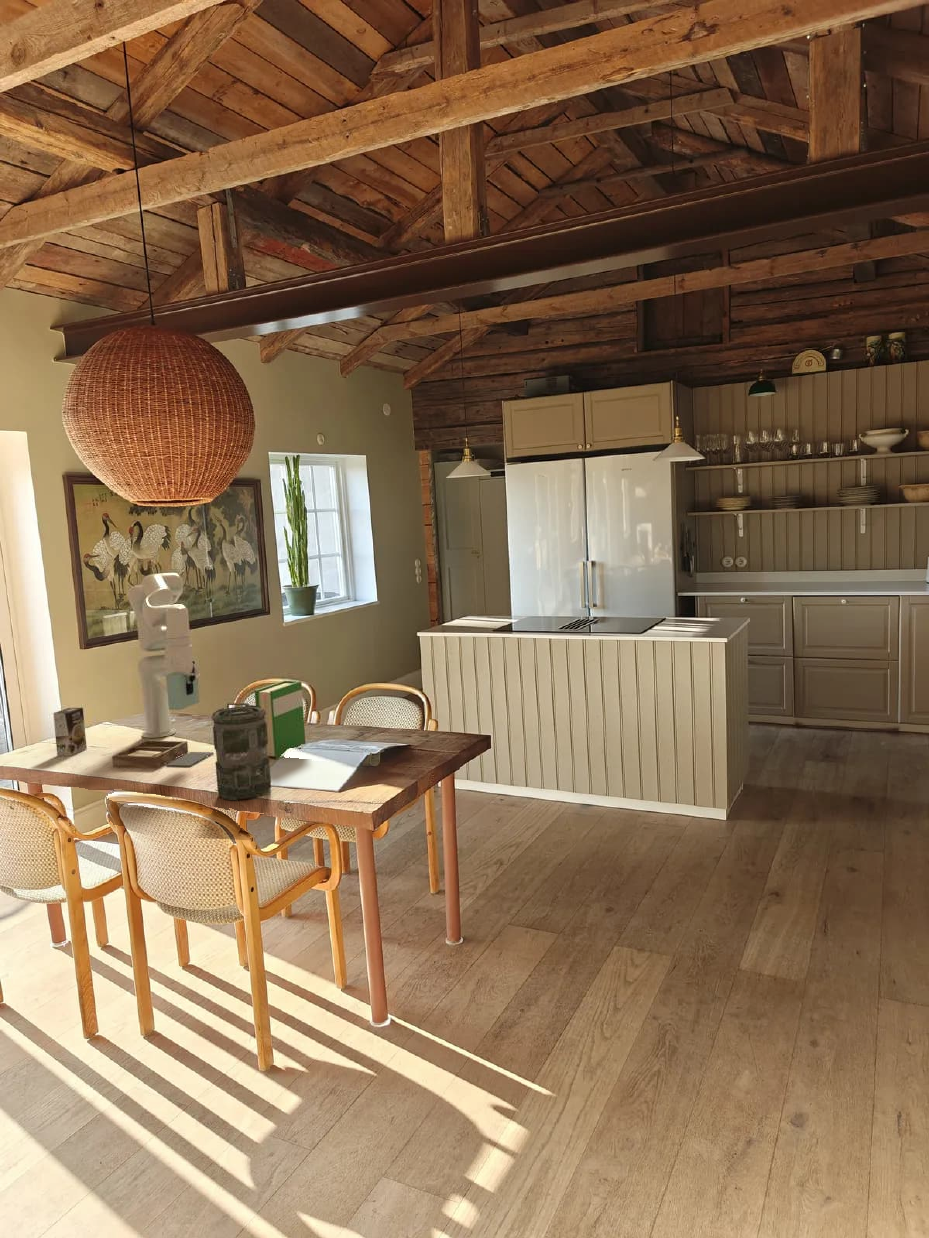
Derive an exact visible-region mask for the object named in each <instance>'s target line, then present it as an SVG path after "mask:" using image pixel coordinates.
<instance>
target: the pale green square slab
mask: <svg viewBox="0 0 929 1238" xmlns="http://www.w3.org/2000/svg"><path fill="white" fill-rule="evenodd" d="M192 674H193V675H194V674H195V673H192ZM165 680H166V681H165V682H166V687H167V694H168V706H169V710H170V711H181V710H184V709H186V708H189V707H191V706H194V705H196V704H198V703H200V694H199V692H200V691H199V681H198V677H197V678H196V679H195V680H194V682H193V689H194V691H193V694H190V695H187V691H186V684H187V680H186V677H185V675H183V674H168V675H166V678H165Z"/></svg>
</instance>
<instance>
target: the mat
mask: <svg viewBox="0 0 929 1238" xmlns="http://www.w3.org/2000/svg"><path fill="white" fill-rule="evenodd" d="M213 753H214V752H213V751H210V752H209V751H190V752H188V753H186V754H184V755H182V756H180V757H178V758H176V759H174V760H172V761H171V762H169V763H167V764H165V765H166V768H167V767H169V766H170V768H172V767H175V768H177V767H178V768H192V767H193V766H195V765H196V764H195V763H197V764H199V763H200V762H202V761H203V759H204V760H205V758H206V757H207V756H209V757H210V755H211V754H213ZM213 755H214V754H213ZM211 756H212V755H211ZM207 758H208V757H207ZM207 758H206V759H207ZM201 760H202V761H201ZM199 761H200V762H199ZM198 762H199V763H198ZM194 764H195V765H194ZM192 765H193V766H192ZM171 766H172V767H171Z"/></svg>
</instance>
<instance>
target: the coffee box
mask: <svg viewBox="0 0 929 1238" xmlns="http://www.w3.org/2000/svg"><path fill="white" fill-rule="evenodd" d="M52 714H53V723H54V733H55V734H54V736H55V743H56V744H55V745H56V747H55V748H56V755H57V756H68V757H70V756H74V755H77V754H78V753H81V751H82V752H84V751H86V750H87V736H86V728H85V717H84V707H66V708H65V709H62V710H58V711H55V712H53V713H52ZM85 749H86V750H85ZM83 750H84V751H83ZM76 753H77V754H76Z"/></svg>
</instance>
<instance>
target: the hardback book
mask: <svg viewBox="0 0 929 1238" xmlns="http://www.w3.org/2000/svg"><path fill="white" fill-rule="evenodd" d="M254 700H255V701H254V703H255V706H260V707H261V709H264V710H265V712H266V714H265V721H266V722H267V737H268V744H267V756H268V757H274V756H275V757H274V759H275V758H279V757H280V756H281V754H283V753H284V752H285V751H286V750H287V749H289V748H294V747H298V746H300V745H301V744H306V734H305V733H306V732H305V718H304V717H305V715H304V702H303V701H304V700H303V687H302V681H301V680H286V679H285V680H282V681H279V682H275V683H273V684H269V685H267V686H264V687H260V688H257V689H255V690H254ZM279 759H280V758H279Z"/></svg>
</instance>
